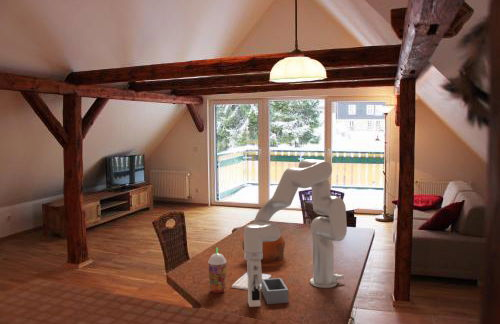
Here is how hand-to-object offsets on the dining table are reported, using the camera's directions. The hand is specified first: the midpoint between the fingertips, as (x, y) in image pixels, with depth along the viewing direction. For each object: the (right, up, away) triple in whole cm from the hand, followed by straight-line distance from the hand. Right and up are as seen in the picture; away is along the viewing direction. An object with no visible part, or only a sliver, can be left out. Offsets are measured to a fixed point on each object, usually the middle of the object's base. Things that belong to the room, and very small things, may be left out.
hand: (254, 295), depth 162 cm
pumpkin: (+7, -1, +59) cm, 59 cm away
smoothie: (-16, -3, +15) cm, 22 cm away
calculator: (-1, -3, +25) cm, 26 cm away
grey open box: (+9, -3, +8) cm, 12 cm away
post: (0, -4, 0) cm, 4 cm away
